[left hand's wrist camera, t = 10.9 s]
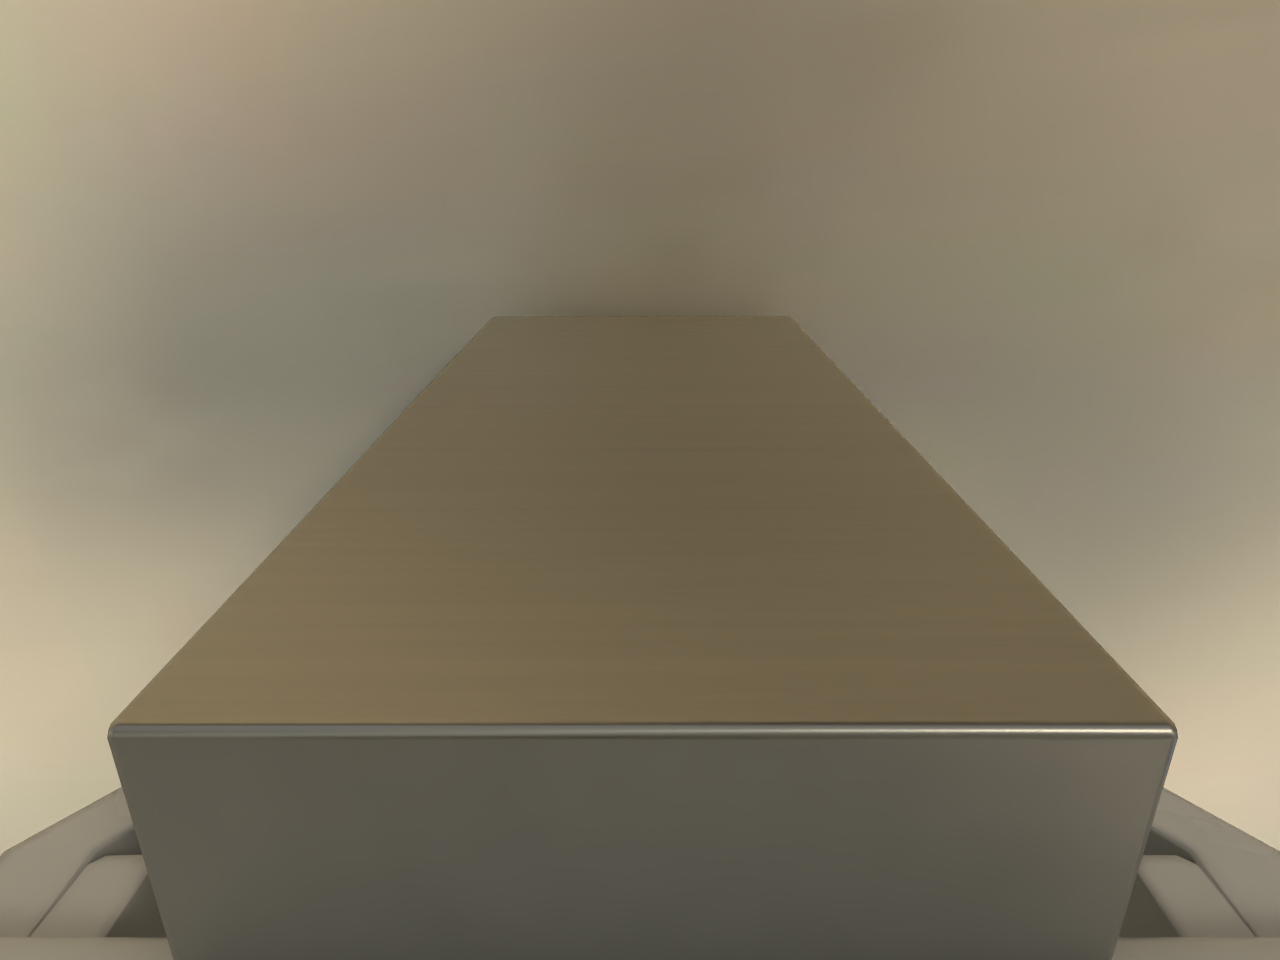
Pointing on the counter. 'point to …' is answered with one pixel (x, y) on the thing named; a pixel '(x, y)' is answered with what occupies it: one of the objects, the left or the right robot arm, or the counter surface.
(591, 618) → the box
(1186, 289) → the counter surface
